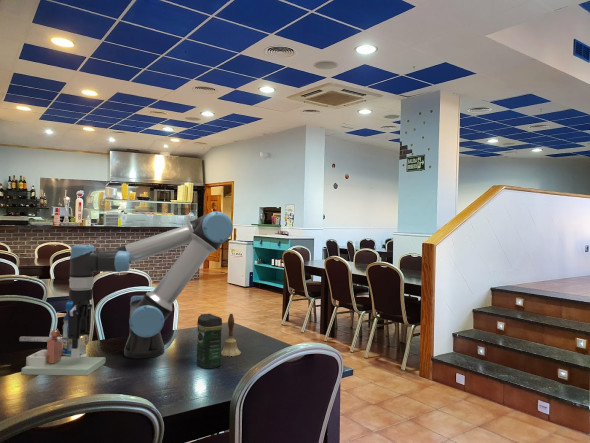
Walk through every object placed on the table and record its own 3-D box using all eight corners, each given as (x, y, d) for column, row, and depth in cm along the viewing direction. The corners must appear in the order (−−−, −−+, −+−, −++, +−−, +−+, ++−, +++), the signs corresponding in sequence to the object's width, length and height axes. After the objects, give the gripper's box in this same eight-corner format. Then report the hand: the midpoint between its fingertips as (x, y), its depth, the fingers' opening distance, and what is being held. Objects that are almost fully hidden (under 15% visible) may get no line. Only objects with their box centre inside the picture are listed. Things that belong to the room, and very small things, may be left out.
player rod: (88, 359, 154) (90, 328, 154) (82, 363, 149) (83, 332, 149) (24, 358, 154) (25, 327, 154) (15, 362, 149) (16, 330, 149)
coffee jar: (224, 366, 157) (225, 315, 158) (204, 370, 153) (205, 317, 153) (212, 359, 165) (213, 311, 166) (193, 363, 160) (194, 313, 161)
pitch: (105, 362, 159) (105, 349, 159) (87, 375, 145) (87, 360, 145) (45, 361, 158) (45, 347, 158) (21, 374, 144) (21, 359, 144)
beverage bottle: (75, 357, 164) (77, 304, 165) (56, 355, 166) (58, 303, 166) (90, 351, 173) (92, 301, 173) (72, 349, 174) (73, 300, 175)
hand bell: (216, 355, 172) (217, 314, 172) (227, 349, 179) (228, 311, 180) (234, 357, 169) (235, 316, 169) (244, 352, 176) (245, 313, 177)
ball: (43, 347, 153) (38, 357, 153) (36, 350, 149) (31, 361, 149) (53, 351, 153) (48, 362, 153) (47, 355, 149) (42, 365, 149)
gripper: (81, 285, 160) (79, 348, 160) (57, 291, 144) (55, 362, 143) (101, 285, 160) (99, 349, 160) (80, 292, 144) (77, 363, 143)
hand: (78, 355), depth 152 cm, fingers closed on player rod, 4 cm apart
